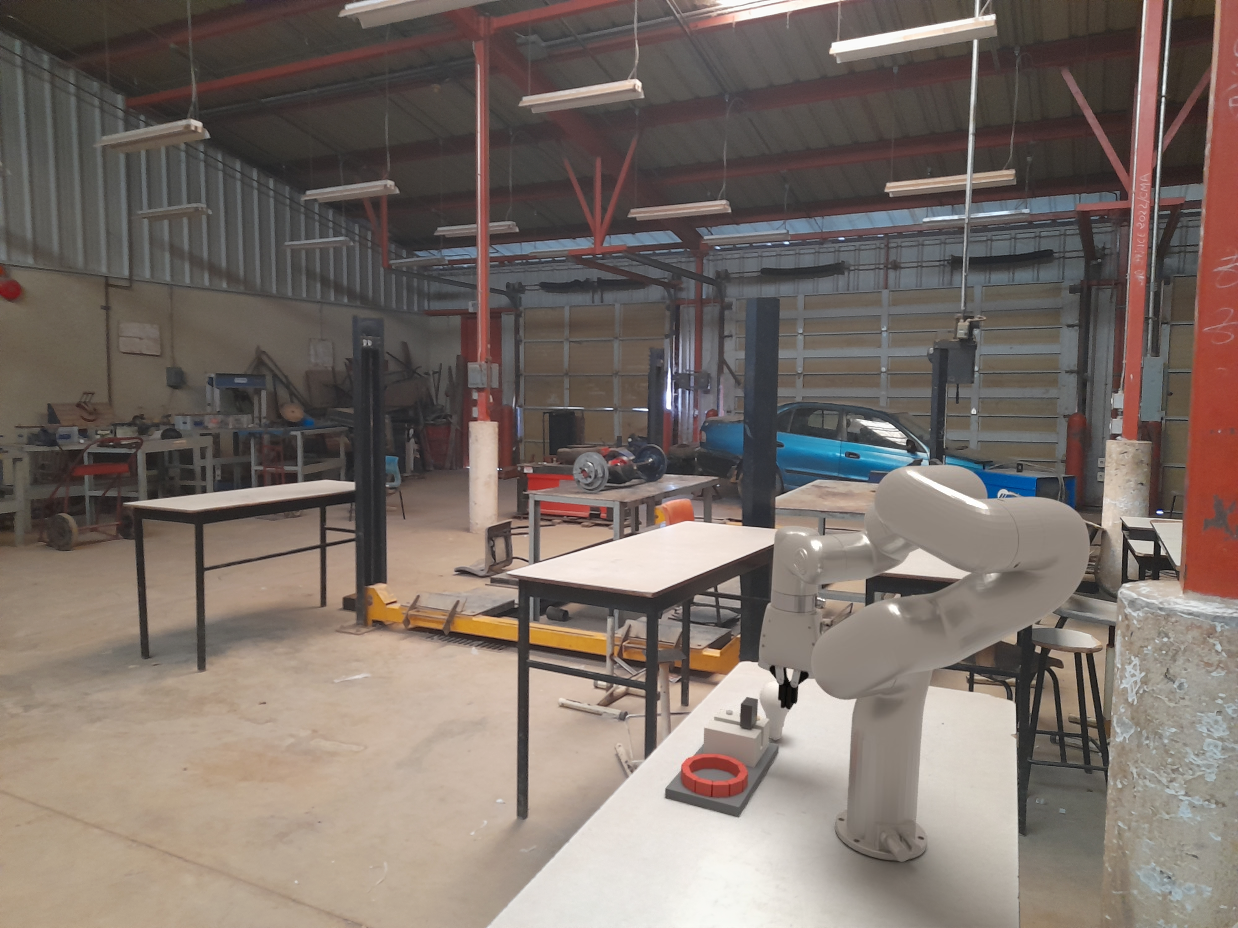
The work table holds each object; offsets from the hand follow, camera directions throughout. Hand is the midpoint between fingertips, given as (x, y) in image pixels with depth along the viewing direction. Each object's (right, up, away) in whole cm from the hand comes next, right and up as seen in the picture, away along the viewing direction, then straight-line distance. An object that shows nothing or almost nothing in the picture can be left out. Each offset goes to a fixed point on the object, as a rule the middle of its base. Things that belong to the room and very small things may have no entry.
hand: (787, 705), depth 132 cm
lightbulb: (0, -10, +12) cm, 16 cm away
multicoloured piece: (-11, -11, -1) cm, 15 cm away
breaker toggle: (-6, -7, +3) cm, 10 cm away
